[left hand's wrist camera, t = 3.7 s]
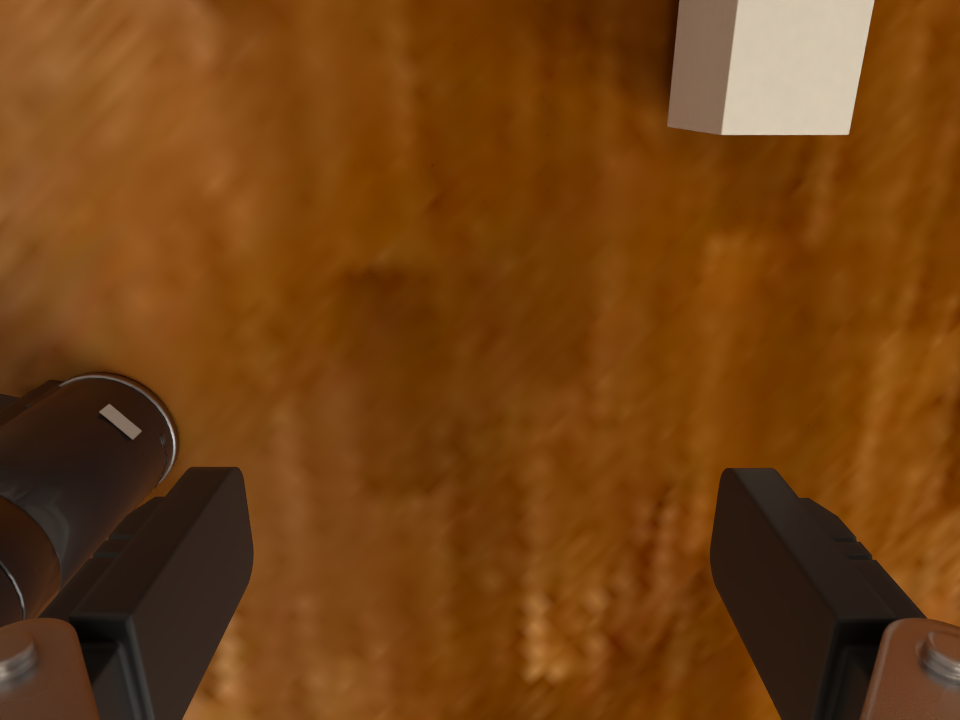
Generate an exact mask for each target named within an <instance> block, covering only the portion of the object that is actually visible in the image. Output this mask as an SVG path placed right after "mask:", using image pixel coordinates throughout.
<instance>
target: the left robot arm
mask: <svg viewBox="0 0 960 720" xmlns="http://www.w3.org/2000/svg"><path fill="white" fill-rule="evenodd" d="M178 448H179V440H178V433H177V429H176V426H175V423H174V420H173V418H172V416H171V414H170V413H169V411H168V410H167V408H166V407H165V406H164V404H163V403H162V402H161V401H160V400H159V399H158V398H157V397H156V396H155V395H154V394H153V393H152V392H151V391H149V390H148V389H147V388H145V387H144V386H142V385H140V384H139V383H137V382H135V381H133V380H131V379H128V378H125V377H122V376H119V375H115V374H110V373H87V374H82V375H78V376H75V377H73V378H70V379H69V380H67V381H65V382H56V381H52V380H49V381H47V382H45V383H44V384H42V385H41V386H39V387H37V388H36V389H34V390H33V391H31V392H29V393H28V394H26V395H25V396H23V397H22V398H17V397H13V396H8V395H4V394H0V720H182V718H183V716H184V714H185V712H186V710H187V708H188V706H189V704H190V702H191V700H192V698H193V696H194V694H195V692H196V690H197V688H198V686H199V684H200V682H201V680H202V678H203V675H204V673H205V671H206V669H207V667H208V665H209V663H210V661H211V659H212V657H213V655H214V653H215V651H216V649H217V647H218V645H219V643H220V641H221V639H222V637H223V635H224V632H225V630H226V628H227V626H228V624H229V622H230V620H231V618H232V616H233V614H234V612H235V610H236V608H237V606H238V604H239V602H240V600H241V598H242V596H243V594H244V592H245V590H246V587H247V585H248V583H249V580H250V576H251V572H252V566H253V542H252V535H251V528H250V520H249V513H248V506H247V499H246V492H245V485H244V479H243V475H242V473H241V471H240V469H239V468H238V467H191V468H189V469H188V470H187V471H186V472H185V473H184V474H183V476H182V477H181V478H180V479H179V480H178V482H177V483H176V484H175V485H174V487H173V488H172V489H171V490H170V492H169V493H168V494H167V495H166V496H165V497H154V498H153V499H151V500H150V501H148V502H147V503H145V504H143V505H142V506H140V507H139V508H137V507H138V506H139V505H140V503H141V502H142V501H143V500H144V499H145V498H146V497H147V495H148V494H149V493H150V492H151V491H152V490H153V488H155V487H156V486H157V485H158V484H159V483H160V482H161V481H162V480H163V479H164V478H165V477H166V476H167V474H168V473H169V472H170V471H171V469H172V467H173V466H174V463H175V461H176V458H177V455H178ZM136 508H137V509H136ZM710 563H711V571H712V576H713V579H714V583H715V585H716V588H717V590H718V592H719V594H720V596H721V598H722V600H723V602H724V604H725V606H726V608H727V610H728V612H729V614H730V616H731V618H732V620H733V622H734V624H735V626H736V628H737V630H738V632H739V634H740V636H741V638H742V640H743V642H744V644H745V646H746V648H747V650H748V652H749V654H750V656H751V658H752V661H753V663H754V665H755V667H756V669H757V671H758V673H759V675H760V677H761V679H762V681H763V683H764V685H765V687H766V689H767V691H768V693H769V695H770V697H771V699H772V701H773V703H774V705H775V707H776V709H777V711H778V713H779V715H780V717H781V719H782V720H960V627H957V626H954V625H951V624H948V623H945V622H941V621H937V620H932V619H927V618H926V616H925V615H924V614H923V613H922V612H921V611H920V610H919V608H918V607H917V606H916V605H915V604H914V603H913V602H912V600H911V599H910V598H909V597H908V596H907V595H906V594H905V592H904V591H903V590H902V589H901V588H900V587H899V586H898V585H897V583H896V582H895V581H894V580H893V579H892V578H891V577H890V575H889V574H888V573H887V572H886V571H885V570H884V569H883V567H882V566H881V565H880V564H879V563H878V562H877V561H876V560H872V555H871V554H870V553H869V552H868V550H867V549H866V548H865V547H864V546H863V545H862V544H861V542H857V541H856V537H855V536H854V534H853V533H852V532H851V531H850V530H849V529H848V528H847V527H846V525H845V524H844V523H843V522H842V521H841V520H840V519H839V517H838V516H836V515H835V514H833V513H831V512H830V511H828V510H827V509H825V508H824V507H822V506H820V505H819V504H817V503H816V502H814V501H812V500H811V499H809V498H799V497H798V496H797V495H796V494H795V492H794V491H793V490H792V489H791V488H790V486H789V485H788V484H787V483H786V482H785V480H784V479H783V478H782V477H781V475H780V474H779V473H778V472H777V471H776V470H775V469H773V468H727V469H725V470H724V471H723V473H722V475H721V478H720V483H719V490H718V497H717V504H716V511H715V518H714V525H713V532H712V539H711V547H710Z"/></svg>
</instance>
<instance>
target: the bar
mask: <svg viewBox="0 0 960 720" xmlns="http://www.w3.org/2000/svg"><path fill="white" fill-rule="evenodd" d="M873 4H874V0H679V10H678V20H677V31H676V41H675V51H674V62H673V72H672V82H671V93H670V103H669V113H668V124H667V126H668V127H674V128H681V129H687V130H693V131H700V132H706V133H713V134H719V135H848V134H849V130H850V125H851V119H852V114H853V109H854V104H855V98H856V93H857V88H858V83H859V77H860V72H861V67H862V62H863V57H864V51H865V46H866V41H867V36H868V30H869V25H870V20H871V15H872V9H873Z"/></svg>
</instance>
